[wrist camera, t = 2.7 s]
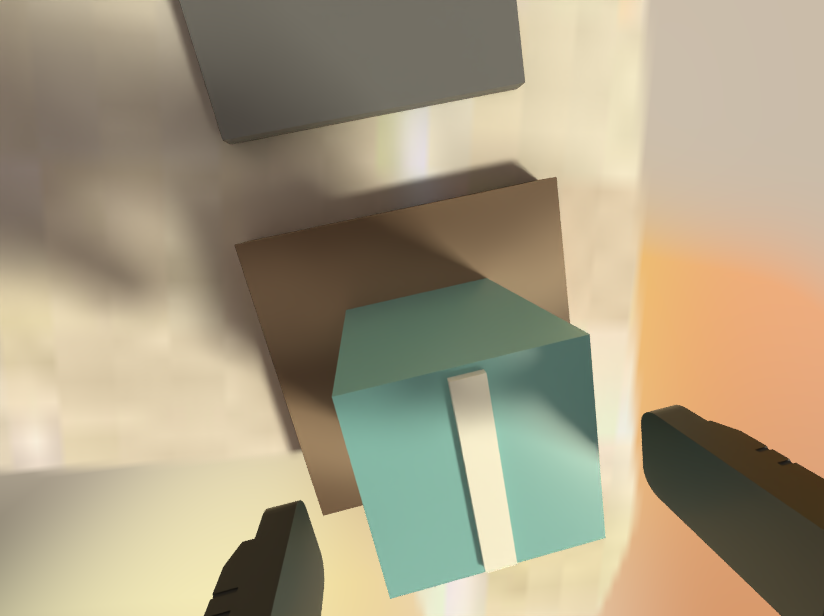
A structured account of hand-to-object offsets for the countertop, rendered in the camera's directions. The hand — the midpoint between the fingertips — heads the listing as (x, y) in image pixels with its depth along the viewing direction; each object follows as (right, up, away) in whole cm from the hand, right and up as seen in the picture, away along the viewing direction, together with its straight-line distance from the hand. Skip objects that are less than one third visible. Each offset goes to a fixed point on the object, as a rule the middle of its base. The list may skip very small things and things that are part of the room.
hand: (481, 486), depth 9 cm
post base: (-1, +2, +8) cm, 9 cm away
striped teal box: (-1, +2, +7) cm, 7 cm away
